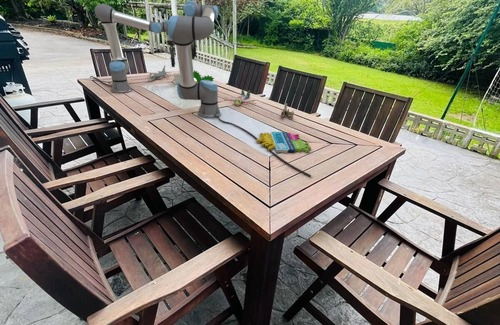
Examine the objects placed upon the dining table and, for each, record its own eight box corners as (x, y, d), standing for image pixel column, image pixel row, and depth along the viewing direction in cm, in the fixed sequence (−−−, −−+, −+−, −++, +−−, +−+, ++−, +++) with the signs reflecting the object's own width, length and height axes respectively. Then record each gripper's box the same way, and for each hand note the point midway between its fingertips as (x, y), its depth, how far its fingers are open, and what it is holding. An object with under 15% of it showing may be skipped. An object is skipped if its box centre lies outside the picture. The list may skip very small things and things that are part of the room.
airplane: (140, 75, 284) (139, 65, 279) (170, 73, 298) (169, 64, 293) (146, 83, 256) (144, 73, 251) (178, 81, 269) (177, 71, 264)
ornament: (208, 92, 257) (212, 77, 255) (210, 92, 249) (214, 76, 248) (188, 85, 249) (191, 70, 247) (189, 85, 241) (193, 69, 239)
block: (182, 83, 263) (181, 73, 258) (181, 85, 257) (180, 74, 252) (175, 83, 262) (174, 72, 257) (174, 84, 257) (173, 74, 252)
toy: (261, 91, 228) (254, 99, 202) (261, 99, 231) (253, 108, 205) (231, 87, 233) (220, 95, 207) (230, 95, 236) (219, 104, 210)
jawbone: (291, 106, 199) (293, 98, 190) (292, 123, 193) (294, 114, 184) (278, 106, 199) (280, 97, 190) (279, 122, 193) (281, 114, 184)
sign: (313, 150, 142) (258, 149, 139) (312, 153, 143) (258, 152, 140) (301, 132, 164) (254, 130, 161) (301, 134, 165) (254, 133, 162)
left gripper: (167, 38, 237) (169, 63, 248) (165, 41, 216) (168, 68, 227) (175, 39, 239) (177, 63, 249) (175, 41, 218) (177, 68, 228)
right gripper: (189, 25, 197) (190, 55, 208) (184, 26, 176) (186, 60, 186) (199, 25, 198) (200, 55, 208) (195, 27, 176) (196, 60, 187)
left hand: (173, 65), depth 238 cm, fingers open, 13 cm apart
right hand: (193, 57), depth 197 cm, fingers open, 13 cm apart
